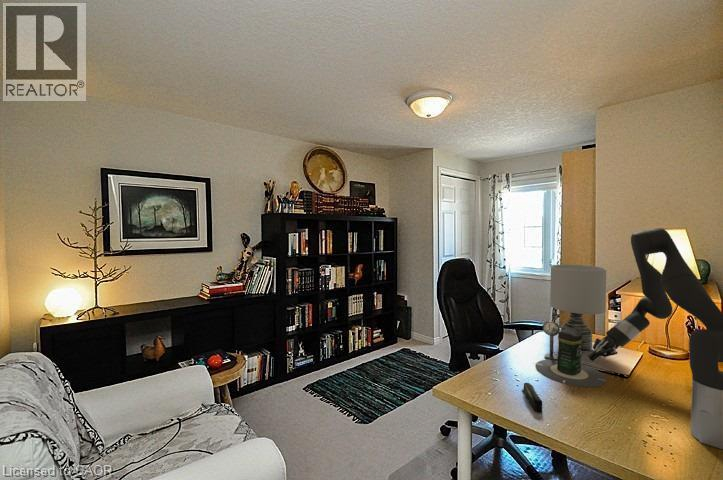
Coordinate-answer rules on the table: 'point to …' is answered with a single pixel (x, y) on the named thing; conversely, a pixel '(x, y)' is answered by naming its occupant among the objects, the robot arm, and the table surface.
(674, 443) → the table surface
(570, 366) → the coffee jar
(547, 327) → the dial gauge
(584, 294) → the lamp
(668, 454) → the table surface
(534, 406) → the dark elongated block
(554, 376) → the mat
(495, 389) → the table surface
